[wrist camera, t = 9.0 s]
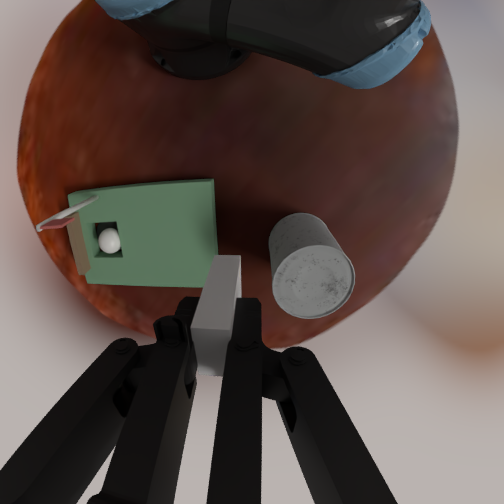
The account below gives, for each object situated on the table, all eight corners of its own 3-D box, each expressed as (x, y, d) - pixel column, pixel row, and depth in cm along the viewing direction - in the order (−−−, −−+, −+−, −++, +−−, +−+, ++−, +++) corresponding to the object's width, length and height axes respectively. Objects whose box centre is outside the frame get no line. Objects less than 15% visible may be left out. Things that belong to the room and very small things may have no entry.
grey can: (292, 282, 44) (302, 331, 33) (255, 238, 41) (254, 279, 30) (341, 248, 42) (368, 289, 30) (307, 199, 39) (327, 227, 27)
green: (75, 191, 38) (8, 223, 23) (213, 178, 38) (183, 208, 23) (93, 276, 45) (45, 330, 30) (220, 279, 44) (202, 351, 29)
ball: (94, 234, 36) (118, 229, 38) (98, 227, 40) (121, 223, 41) (99, 258, 38) (123, 254, 39) (102, 250, 41) (124, 246, 43)
